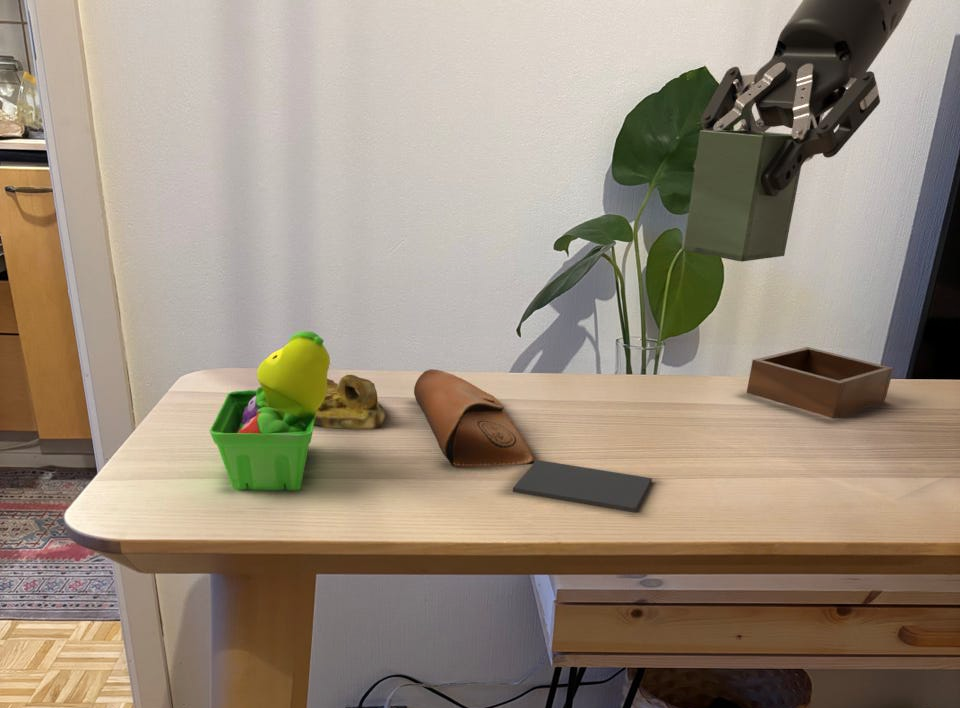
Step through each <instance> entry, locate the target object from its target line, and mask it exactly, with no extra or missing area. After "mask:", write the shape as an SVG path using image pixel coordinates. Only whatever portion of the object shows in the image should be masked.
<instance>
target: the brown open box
mask: <svg viewBox="0 0 960 708" xmlns="http://www.w3.org/2000/svg"><path fill="white" fill-rule="evenodd" d="M751 361H752V362H751V366H750V372H749V376H748V383H747V388H746V394H748V395H752V396H755V397H759V398H761V399H765V400H769V401H773V402H776V403H779V404H782V405H786V406H789V407H793V408H796V409H799V410H803V411H806V412H810V413H813V414H817V415H820V416H823V417H827V418H830V419H835V418H839V417H841V416H845V415H847V414H851V413H854V412H857V411H860V410H863V409H866V408H869V407H873V406H875V405H879V404H882V403H885V401H886V400H887V395H888V392H889V387H890V384H891V379H892V376H893V374H894V373H893V372H894V370H895V369H894V367H890V366H886V365H882V364H879V363H874V362H870V361H867V360H862V359H858V358H854V357H850V356H847V355H842V354H837V353H834V352H830V351H827V350H826V351H825V350H823V349H822V350H821V349H817V348H814V347H811V346H805V347H802V348H797V349H793V350H792V349H791V350H789V351H788V350H787V351H784V352H780V353H776V354H771V355H767V356H763V357H759V358H754V359H752V360H751Z"/></svg>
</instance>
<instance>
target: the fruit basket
mask: <svg viewBox="0 0 960 708" xmlns="http://www.w3.org/2000/svg"><path fill="white" fill-rule="evenodd" d="M324 342H325V340H324V339H323V338H322V337H320V335H318V334H317V333H316V332H314V331H311V330H299V331H297V332H296V333H294V334H293V335H291V337H290V338H289V341H288V343H287V344H286V345H284V346H283V347H282V348H280V349H278V350H276V351H274V352H272V353H271V354H269V356H268V357H266V358H265V359H263V361H262V362H261V363H260V364H259V365H258V368H257V371H256V377H257V382H258V383H259V384H260V386H259V387H257V388H256V390H253V389H252V390H250V389H249V390H248V389H247V390H235V391H230V392H228V393H226V396H225V399H224V401H223V403H222V405H221V407H220V409H219V411H218V412H217V415H216V417H215V420H214V421H213V423H212V425H211V427H210V429H209V433H210V436H211V438H212V441H213V443H214V444H215V445H216V446H217V449H218V452H219V454H220V457H221V460H222V463H223V465H224V468H225V470H226V473H227V476H228V478H229V481H230V484H231V486H232V489H233V490H235V491H243V490H253V491H281V490H283V491H284V490H287V491H300V490H301V487H302V484H303V483H302V482H303V476H304V473H305V466H306V461H307V456H308V451H309V446H310V444H311V441H312V439H313V432H314V427H315V426H314V422H315V417H316V412H317V410H318V408H319V407H320V406H321V404H322V403H323V401H324V398H325V396H326V391H327V379H328V371H329V369H330V364H331V359H330V358H331V357H330V354H329V352H328V350H327V349H326V347H325V345H324Z"/></svg>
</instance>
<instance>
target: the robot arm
mask: <svg viewBox="0 0 960 708" xmlns="http://www.w3.org/2000/svg"><path fill="white" fill-rule="evenodd" d="M912 1H913V0H802V1H801V3H799V5H798V7H797V8H796V10H795V11H794V13H793V14H791V17H790V19H788V21H787V22H786V24H785V25H784V27H783V28H782V30H781V31H780V34H779V36H778V38H777V41H776V45H775V48H774V52H773V55H772V57H771V59H769V61H767V62H766V63H765V64H764V65H763V66H760V68H759V69H758V70H757V71H756V72H755V73H752V74H742V73H741V70H740V68H739V66H732V67H730V68H729V69H728V70H726V72H725V74H724V75H723V76H722V79H721V81H720V83H719V85H718V86H717V88H716V90H715V92H714V94H713V95H712V97H711V99H710V100H709V103H708V105H707V107H706V108H705V109H704V112H703V114H702V115H701V117H700V124H701V126H702V128H703V130H732V128H733V127H735V126H736V125H737V124H738V123H739V122H740V124H741V126H740V127H739V128H738V129H737V130H747V131H760V132H767V131H768V130H769V129H771V128H775V127H776V128H777V127H786V128H789V129H791V133H790V134H791V135H792V139H791V140H787V139H786V140H785V141H784V143H783V144H782V146H781V147H780V148H779V150H778V151H777V153H776V154H775V156H774V157H773V159H772V160H771V162H770V163H769V164H768V166H767V167H766V169H765V170H764V172H763V173H762V176H761V183H762V186H763V188H764V191H765V194H766V195H767V196H772V197H775V196H777V195H778V193H779V192H780V190H783V189H785V188H786V187H787V186H788V185H789V183H790V182H791V180H792V179H793V178H794V176H795V175H796V173H797V172H798V170H799V169H800V167H801V168H802V166H803V165H804V164H805V163H806V162H809V161H811V160H812V159H813V158H814V157H815V156H816V155H821V154H822V156H823V157H824V158H825V159H826V158H827V159H828V158H832V157H835V156H836V155H837V154H838V153H839V152H840V151H841V149H843V147H844V146H845V145H846V143H847V142H849V140H850V139H851V138H852V136H853V135H855V133H856V132H857V131H858V129H860V127H861V126H862V125H863V124H864V123H865V121H866V120H868V118H869V116H870V115H871V114H872V113H873V112H874V111H875V110H876V108H877V107H878V106H879V105H880V103H881V99H880V93H879V88H878V84H877V80H876V75H875V73H874V72H873V71H870V70H869V68H870V67H871V65H872V64H873V62H875V60H876V58H877V57H878V56H879V54H880V52H881V51H882V50H883V48H884V47H885V45H886V44H887V42H888V41H889V39H890V38H891V36H892V35H893V33H894V32H895V30H896V29H897V27H898V26H899V25H900V23H901V21H902V20H903V18H904V16H905V15H906V11H907V10H908V8H909V6H910V4H911V2H912ZM754 105H755V108H756V111H757V114H758V116H759V117H758V119H755V115H754V113H753V107H754ZM826 112H827V114H826V115H825V113H826ZM695 164H696V159H695V160H694V161H693V164H692V168H693V173H694V172H695Z"/></svg>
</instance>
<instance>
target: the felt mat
mask: <svg viewBox="0 0 960 708" xmlns="http://www.w3.org/2000/svg"><path fill="white" fill-rule="evenodd" d="M652 483H653V478H652V477H646V476H640V475H634V474H628V473H621V472H615V471H610V470H609V471H608V470H602V469H596V468H590V467H583V466H578V465H571V464H567V463H566V464H565V463H559V462H552V461H546V460H540V459H536V460H535V461H534V462H533V464H532V465H531V466H530V467H529V469H527V471H526V472H525V473H524V474H523V476H521V478H519V480H518V481H517V482H516V484H515V485H514V486H513V487H512V492H513V493H516V494H522V495H528V496H534V497H541V498H545V499H551V500H558V501H564V502H569V503H574V504H575V503H576V504H581V505H587V506H593V507H599V508H604V509H611V510H617V511H621V512H627V513H628V512H629V513H634V514H636V513H637V511H638V510H639V507H640V506H641V504H642V502H643V499H644V497H646V494H647V492H648V490H649V488H650V486H651V484H652Z"/></svg>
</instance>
